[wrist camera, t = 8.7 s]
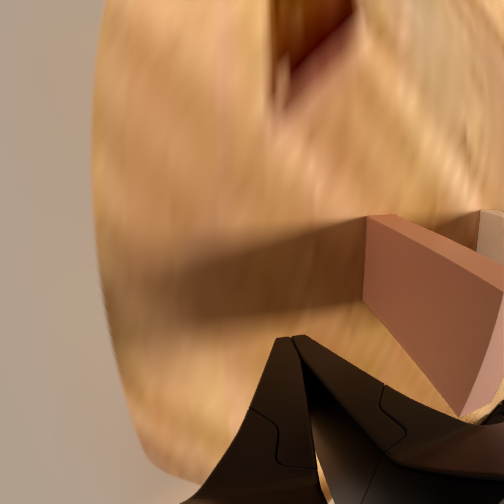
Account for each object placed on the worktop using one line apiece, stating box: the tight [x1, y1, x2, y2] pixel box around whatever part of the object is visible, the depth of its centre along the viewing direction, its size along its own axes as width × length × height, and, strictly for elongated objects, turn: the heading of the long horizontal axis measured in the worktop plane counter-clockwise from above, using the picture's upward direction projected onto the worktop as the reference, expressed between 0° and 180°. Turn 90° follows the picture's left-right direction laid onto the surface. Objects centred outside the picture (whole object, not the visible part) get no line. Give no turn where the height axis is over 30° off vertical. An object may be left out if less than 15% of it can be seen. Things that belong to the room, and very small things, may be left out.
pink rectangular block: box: [362, 215, 504, 418], centre depth 11 cm, size 2×4×9 cm, turn 3°
